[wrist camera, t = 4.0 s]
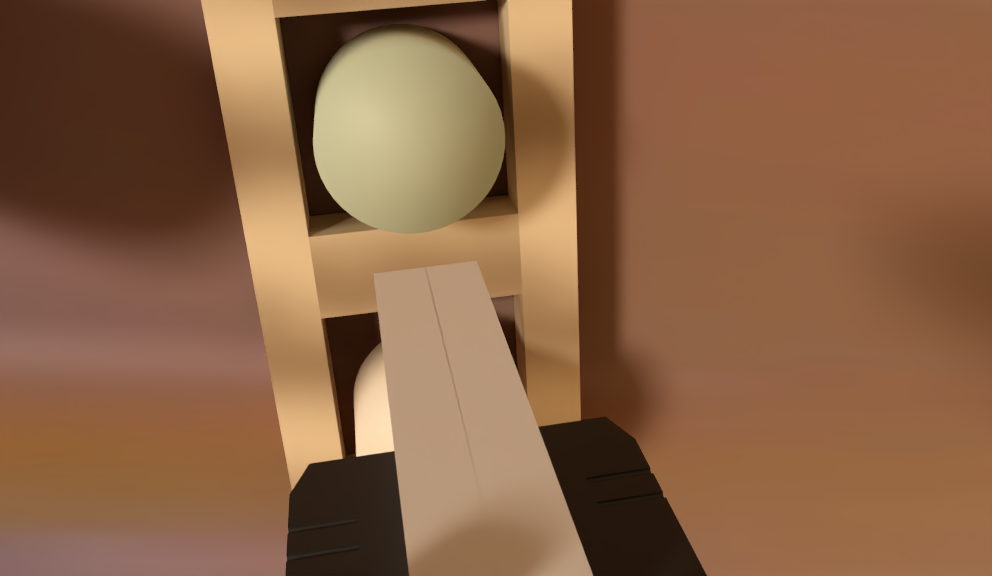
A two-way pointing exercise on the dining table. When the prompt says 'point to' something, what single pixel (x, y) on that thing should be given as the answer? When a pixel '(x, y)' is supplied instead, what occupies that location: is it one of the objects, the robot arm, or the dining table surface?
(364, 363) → the cream button
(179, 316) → the dining table surface
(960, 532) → the dining table surface
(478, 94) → the olive rounded lump
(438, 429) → the robot arm
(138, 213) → the dining table surface
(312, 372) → the wooden ladder frame
